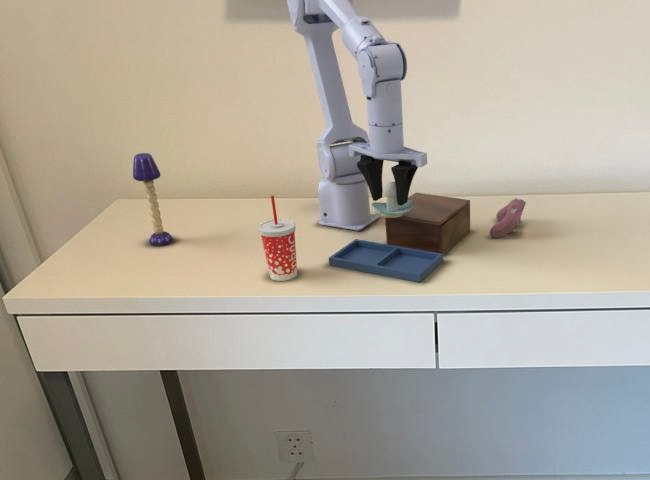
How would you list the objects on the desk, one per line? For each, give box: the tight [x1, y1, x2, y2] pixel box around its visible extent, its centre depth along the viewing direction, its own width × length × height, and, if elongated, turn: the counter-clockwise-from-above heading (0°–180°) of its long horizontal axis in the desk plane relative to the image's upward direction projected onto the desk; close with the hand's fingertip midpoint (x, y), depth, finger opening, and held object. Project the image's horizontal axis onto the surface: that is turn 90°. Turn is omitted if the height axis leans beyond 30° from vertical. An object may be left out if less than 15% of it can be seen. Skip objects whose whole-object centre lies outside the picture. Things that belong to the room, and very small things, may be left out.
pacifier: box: [371, 181, 414, 218], centre depth 131 cm, size 7×6×6 cm
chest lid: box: [382, 192, 471, 225], centre depth 138 cm, size 13×11×1 cm
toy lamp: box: [132, 152, 174, 247], centre depth 138 cm, size 5×5×17 cm
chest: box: [384, 202, 471, 256], centre depth 140 cm, size 12×11×6 cm
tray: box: [328, 238, 444, 283], centre depth 132 cm, size 9×18×2 cm, turn 65°
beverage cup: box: [257, 195, 298, 282], centre depth 125 cm, size 6×6×14 cm
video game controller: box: [489, 197, 527, 238], centre depth 143 cm, size 10×5×7 cm, turn 168°
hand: (390, 201), depth 132 cm, fingers closed on pacifier, 5 cm apart
